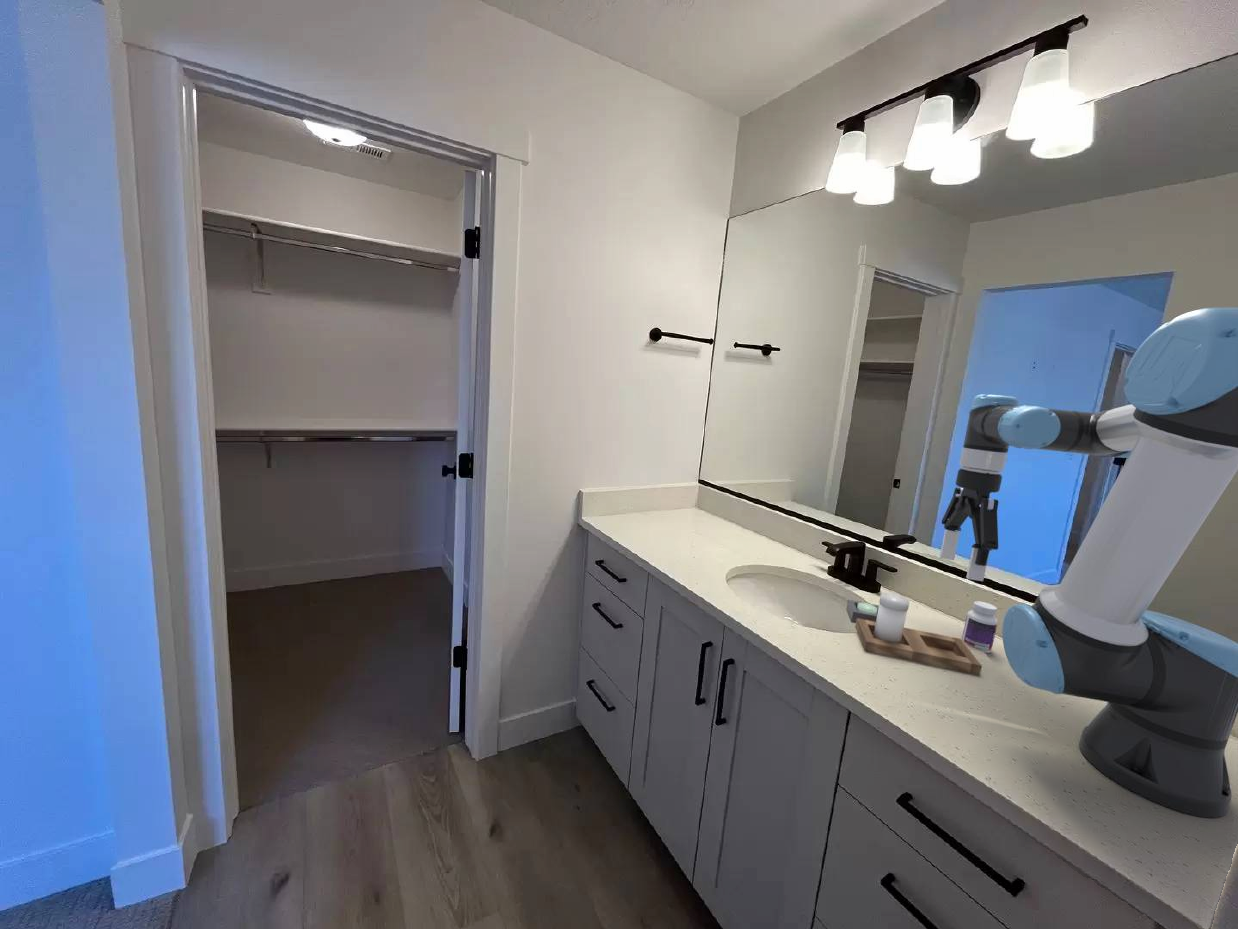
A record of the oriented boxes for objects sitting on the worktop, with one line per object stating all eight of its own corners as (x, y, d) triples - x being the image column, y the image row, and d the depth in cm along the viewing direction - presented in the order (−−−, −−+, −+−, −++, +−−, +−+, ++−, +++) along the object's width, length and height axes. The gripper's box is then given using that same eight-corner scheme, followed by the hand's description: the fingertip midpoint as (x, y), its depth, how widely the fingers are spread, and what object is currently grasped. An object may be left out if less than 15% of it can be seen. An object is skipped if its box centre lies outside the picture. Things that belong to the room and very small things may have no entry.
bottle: (903, 652, 101) (912, 605, 99) (874, 646, 102) (883, 600, 100) (896, 640, 106) (905, 595, 104) (869, 635, 107) (878, 590, 105)
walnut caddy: (957, 652, 105) (960, 638, 105) (978, 680, 95) (982, 665, 94) (854, 630, 110) (856, 618, 110) (864, 655, 100) (866, 641, 100)
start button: (876, 625, 112) (879, 612, 112) (857, 621, 113) (859, 608, 113) (872, 617, 116) (875, 604, 116) (854, 614, 117) (856, 601, 117)
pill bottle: (996, 656, 105) (1006, 612, 104) (967, 651, 106) (977, 608, 105) (983, 643, 111) (992, 602, 109) (956, 639, 112) (965, 597, 110)
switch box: (884, 633, 111) (887, 618, 110) (850, 626, 113) (853, 611, 112) (877, 619, 117) (880, 605, 117) (845, 613, 119) (848, 599, 119)
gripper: (1036, 482, 91) (1010, 593, 94) (973, 465, 115) (954, 554, 118) (989, 476, 93) (966, 586, 96) (936, 461, 117) (919, 548, 120)
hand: (959, 568), depth 107 cm, fingers open, 13 cm apart
